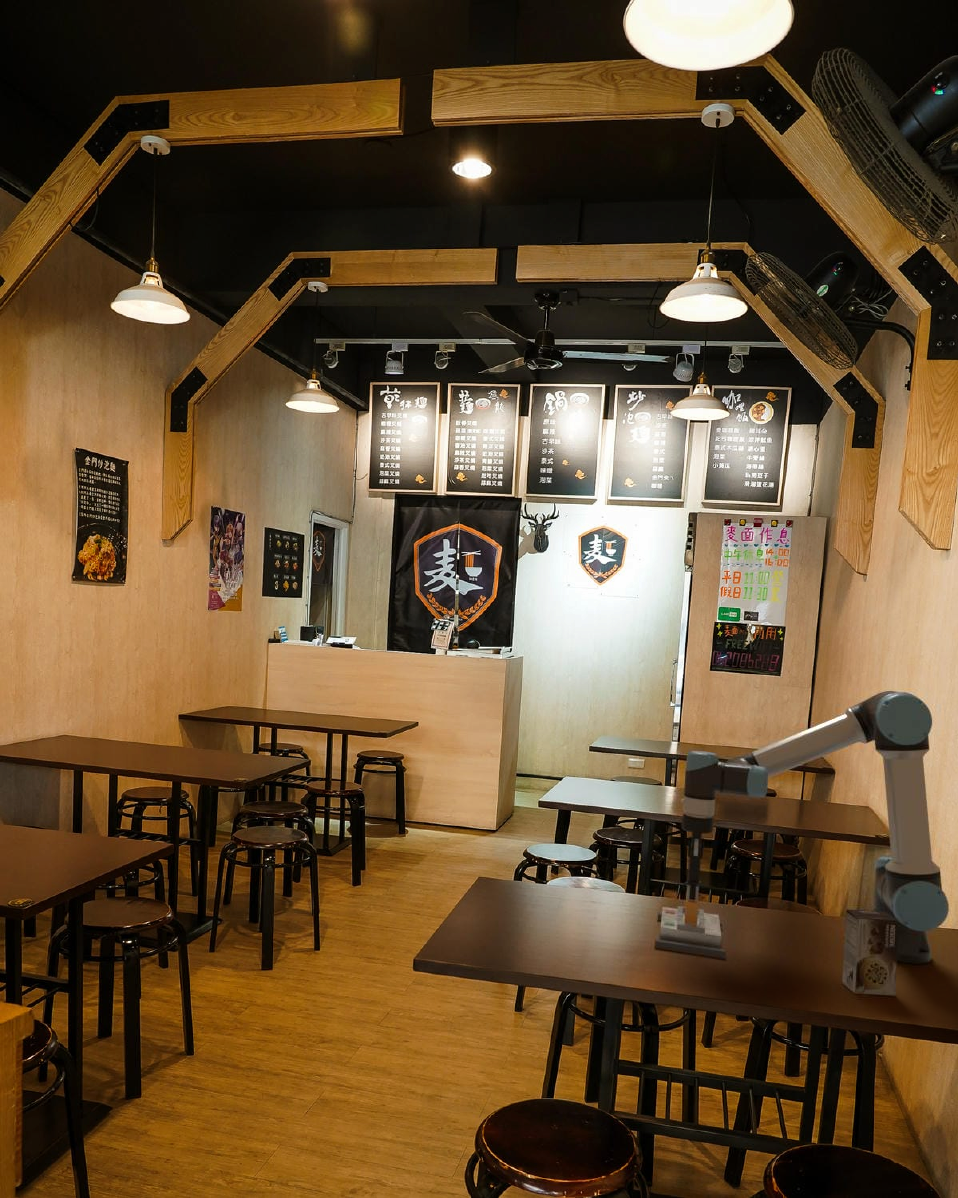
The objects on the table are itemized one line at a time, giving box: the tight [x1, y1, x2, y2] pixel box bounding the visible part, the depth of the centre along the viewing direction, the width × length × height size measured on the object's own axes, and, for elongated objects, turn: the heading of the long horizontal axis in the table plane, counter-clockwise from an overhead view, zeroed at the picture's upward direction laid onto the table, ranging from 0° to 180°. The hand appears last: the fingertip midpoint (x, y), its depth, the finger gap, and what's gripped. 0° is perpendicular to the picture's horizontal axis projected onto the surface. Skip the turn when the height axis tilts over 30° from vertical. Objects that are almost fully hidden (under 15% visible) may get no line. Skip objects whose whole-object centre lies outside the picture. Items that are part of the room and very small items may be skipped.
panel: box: [659, 905, 722, 949], centre depth 219 cm, size 14×18×5 cm
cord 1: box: [657, 912, 723, 930], centre depth 230 cm, size 16×2×2 cm, turn 77°
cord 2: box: [654, 938, 727, 960], centre depth 208 cm, size 16×2×2 cm, turn 77°
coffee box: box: [841, 908, 899, 996], centre depth 194 cm, size 9×6×16 cm
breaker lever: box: [684, 900, 700, 925], centre depth 217 cm, size 3×2×5 cm, turn 76°
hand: (691, 911), depth 219 cm, fingers closed
